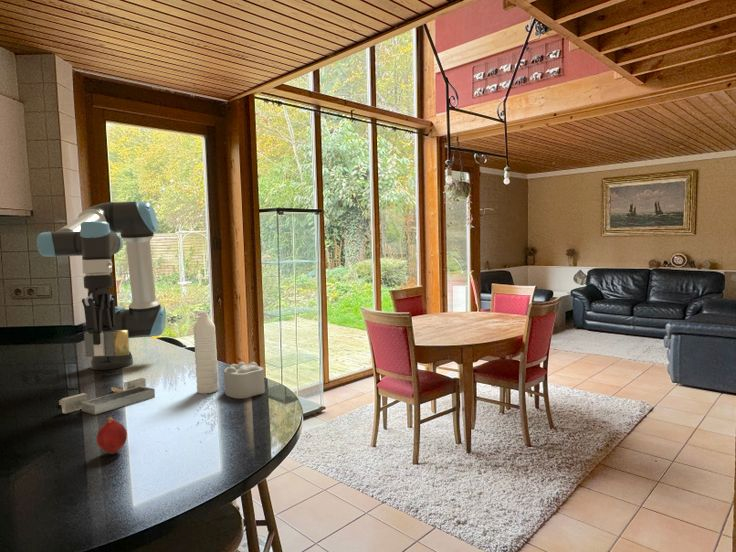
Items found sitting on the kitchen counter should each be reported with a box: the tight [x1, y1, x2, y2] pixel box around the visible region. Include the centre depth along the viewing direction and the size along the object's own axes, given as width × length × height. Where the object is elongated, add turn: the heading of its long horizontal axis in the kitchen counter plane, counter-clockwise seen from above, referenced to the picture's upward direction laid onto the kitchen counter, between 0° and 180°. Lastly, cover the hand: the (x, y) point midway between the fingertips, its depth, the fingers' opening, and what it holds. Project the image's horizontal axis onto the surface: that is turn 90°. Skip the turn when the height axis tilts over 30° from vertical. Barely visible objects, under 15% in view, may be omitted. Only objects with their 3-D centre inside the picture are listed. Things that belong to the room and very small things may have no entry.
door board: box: [58, 377, 156, 416], centre depth 144 cm, size 24×19×4 cm
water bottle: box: [193, 309, 220, 395], centre depth 151 cm, size 9×6×25 cm
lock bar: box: [83, 330, 130, 358], centre depth 142 cm, size 12×4×7 cm, turn 88°
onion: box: [96, 417, 128, 455], centre depth 105 cm, size 6×6×8 cm
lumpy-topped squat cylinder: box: [223, 361, 266, 400], centre depth 149 cm, size 10×13×9 cm
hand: (103, 354), depth 142 cm, fingers closed on lock bar, 3 cm apart
